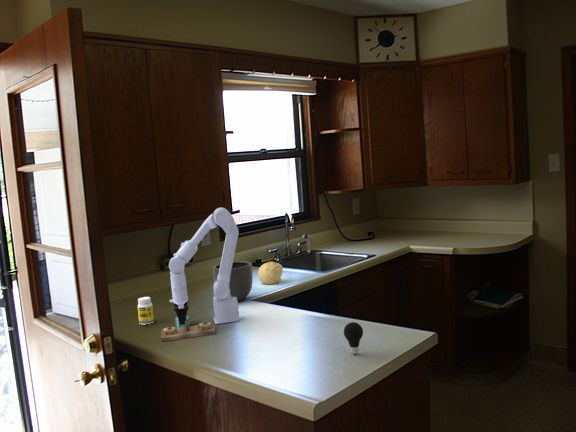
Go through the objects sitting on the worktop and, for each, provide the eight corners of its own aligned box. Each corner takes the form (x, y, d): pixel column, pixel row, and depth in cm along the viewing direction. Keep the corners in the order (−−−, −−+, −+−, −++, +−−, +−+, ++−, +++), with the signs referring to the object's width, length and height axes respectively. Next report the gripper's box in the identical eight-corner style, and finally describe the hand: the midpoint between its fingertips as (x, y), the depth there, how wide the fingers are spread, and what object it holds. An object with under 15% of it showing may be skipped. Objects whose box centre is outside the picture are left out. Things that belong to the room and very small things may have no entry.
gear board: (212, 325, 209) (211, 313, 208) (215, 333, 199) (213, 320, 199) (161, 333, 205) (160, 320, 204) (161, 341, 195) (160, 328, 195)
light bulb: (362, 350, 171) (360, 319, 169) (366, 357, 165) (363, 324, 164) (344, 351, 170) (341, 320, 169) (346, 358, 165) (344, 326, 163)
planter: (210, 306, 238) (206, 270, 237) (224, 295, 255) (220, 261, 253) (247, 305, 234) (244, 268, 233) (259, 295, 251) (256, 260, 249)
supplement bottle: (139, 326, 217) (136, 300, 216) (139, 322, 222) (136, 297, 221) (154, 323, 218) (151, 298, 217) (154, 320, 224) (151, 295, 223)
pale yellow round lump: (275, 286, 265) (273, 264, 264) (254, 285, 272) (252, 263, 270) (287, 280, 275) (285, 259, 274) (266, 279, 281) (265, 259, 280)
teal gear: (189, 322, 216) (188, 314, 215) (190, 326, 210) (189, 318, 210) (175, 324, 214) (175, 316, 214) (176, 328, 209) (175, 320, 209)
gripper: (168, 285, 217) (171, 318, 219) (168, 293, 203) (172, 329, 204) (186, 282, 219) (189, 316, 220) (187, 290, 204) (191, 326, 206)
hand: (182, 322), depth 212 cm, fingers closed on teal gear, 5 cm apart
